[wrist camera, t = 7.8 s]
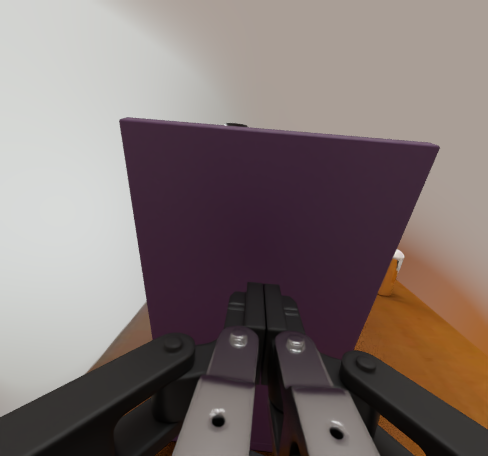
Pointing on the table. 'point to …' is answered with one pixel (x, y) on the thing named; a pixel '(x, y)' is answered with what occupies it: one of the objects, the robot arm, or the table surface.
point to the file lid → (267, 221)
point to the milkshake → (391, 274)
